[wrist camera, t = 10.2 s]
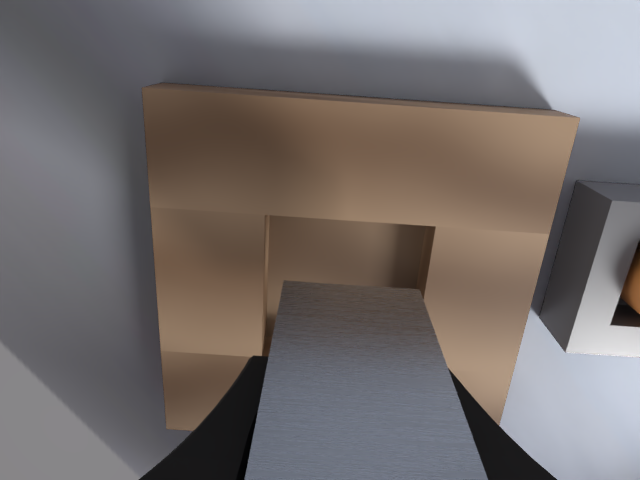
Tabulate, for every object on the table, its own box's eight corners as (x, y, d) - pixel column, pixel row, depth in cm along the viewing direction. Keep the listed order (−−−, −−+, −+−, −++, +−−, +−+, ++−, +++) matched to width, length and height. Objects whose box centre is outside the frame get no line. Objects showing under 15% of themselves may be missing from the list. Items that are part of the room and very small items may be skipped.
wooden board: (479, 416, 23) (492, 450, 21) (179, 397, 23) (166, 429, 21) (553, 109, 17) (580, 117, 15) (162, 82, 17) (141, 87, 15)
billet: (402, 398, 16) (451, 648, 9) (278, 390, 16) (243, 635, 9) (419, 289, 14) (494, 497, 8) (283, 280, 14) (243, 481, 8)
